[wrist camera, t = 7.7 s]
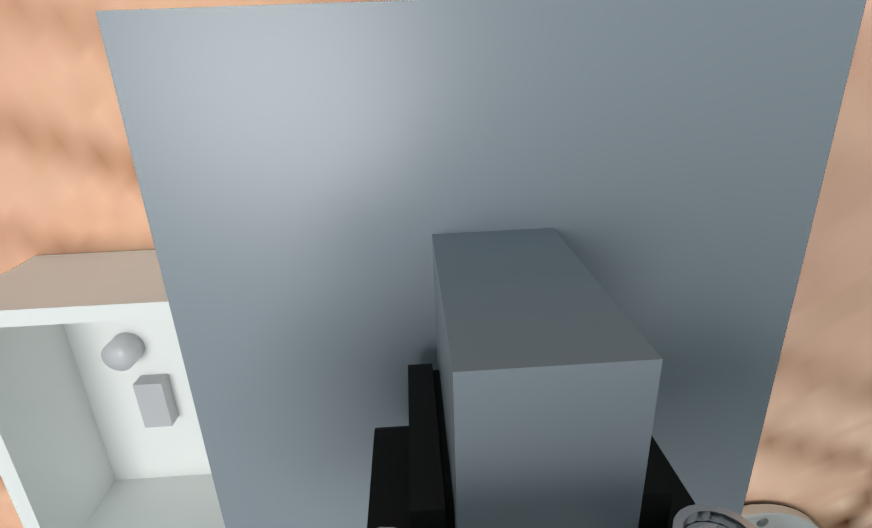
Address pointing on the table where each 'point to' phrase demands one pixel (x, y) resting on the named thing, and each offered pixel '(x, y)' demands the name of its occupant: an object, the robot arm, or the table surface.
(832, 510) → the table surface
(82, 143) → the table surface
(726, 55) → the lid
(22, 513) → the tub
